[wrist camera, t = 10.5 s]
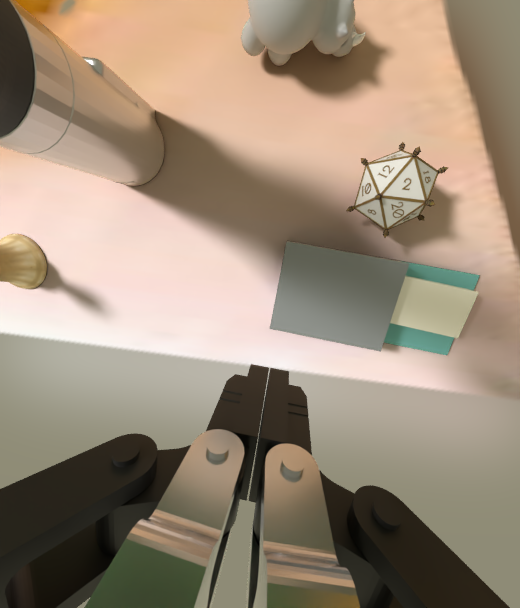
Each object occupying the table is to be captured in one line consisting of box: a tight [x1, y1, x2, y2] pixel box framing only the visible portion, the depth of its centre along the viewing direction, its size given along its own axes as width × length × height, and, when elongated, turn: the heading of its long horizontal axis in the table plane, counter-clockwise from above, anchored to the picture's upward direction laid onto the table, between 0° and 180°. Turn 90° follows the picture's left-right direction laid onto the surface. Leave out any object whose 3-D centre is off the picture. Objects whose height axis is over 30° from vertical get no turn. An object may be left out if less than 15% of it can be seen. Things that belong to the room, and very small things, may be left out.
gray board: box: [270, 241, 410, 351], centre depth 33 cm, size 11×14×4 cm
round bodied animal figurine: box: [241, 0, 365, 66], centre depth 25 cm, size 7×12×8 cm, turn 75°
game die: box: [347, 142, 448, 238], centre depth 27 cm, size 9×8×10 cm
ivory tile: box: [390, 276, 479, 338], centre depth 32 cm, size 6×9×2 cm, turn 78°
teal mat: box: [384, 261, 480, 355], centre depth 34 cm, size 11×10×1 cm
